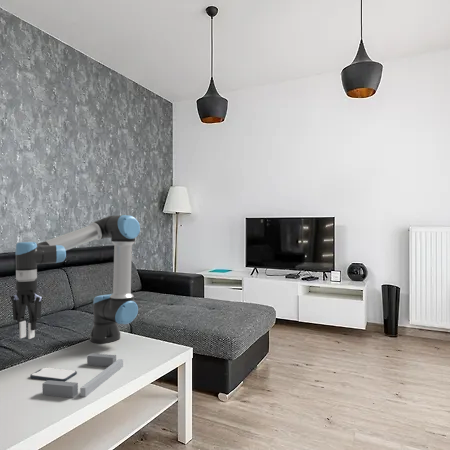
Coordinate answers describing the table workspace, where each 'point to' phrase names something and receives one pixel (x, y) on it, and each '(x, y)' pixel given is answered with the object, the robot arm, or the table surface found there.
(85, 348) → the table surface
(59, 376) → the smartphone
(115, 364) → the grey u-shaped piece
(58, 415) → the table surface
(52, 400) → the table surface
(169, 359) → the table surface
